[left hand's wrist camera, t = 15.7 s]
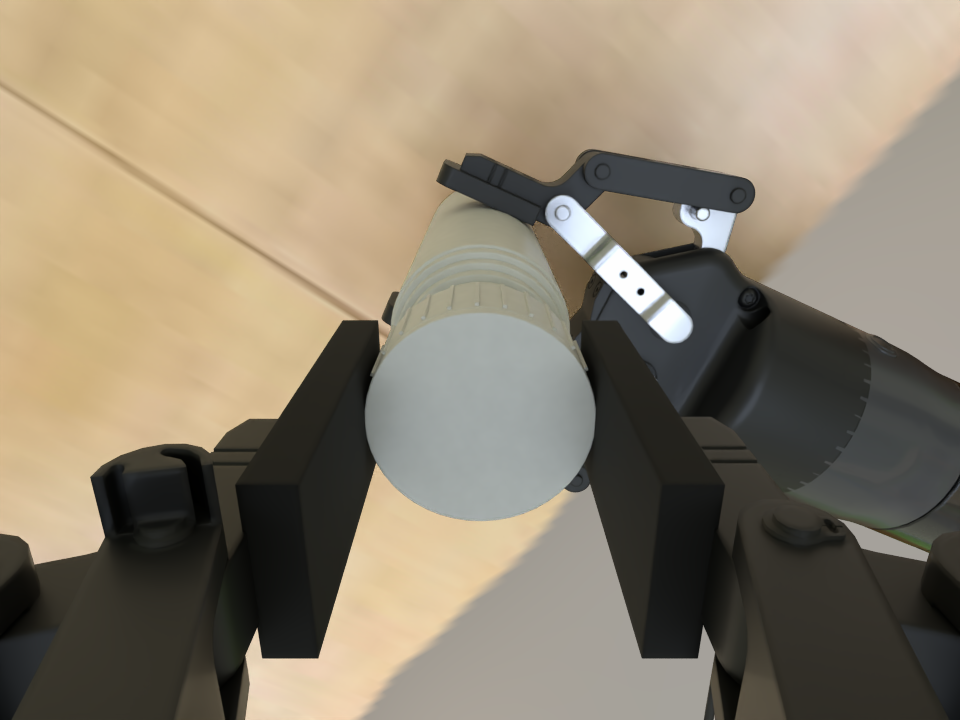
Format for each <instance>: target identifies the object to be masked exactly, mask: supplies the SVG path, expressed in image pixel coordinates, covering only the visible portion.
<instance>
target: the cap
mask: <svg viewBox="0 0 960 720" xmlns="http://www.w3.org/2000/svg"><path fill="white" fill-rule="evenodd" d="M586 371H588V368H587V365H586V363H585V360H584V358H583V356H582V353H581V351H580V349H579V346H578V344H577V341H576V340H575V341H573V340H572V337H571V335H570V332H569V330H568V328H567V325H566V323H565V321H564V320H563V321H562V322H561V321H560V320H559V319H558V317H557V316H556V315H555V314H554V313H553V312H552V311H551V310H550V307H549V305H548V304H545V305H544V304H542V303H541V302H539V301H537V300H536V299H534V298H533V297H531V296H529V294H528V292H526V291H524V293H522V292H520V291H517V290H514V289H511V288H508V287H505V284H500V286H498V285H492V284H479V282H475V284H470V285H462V286H457V287H455V286H454V285H451V286H450V288H449V289H446V290H443V291H440V292H438V293H436V294H434V295H431V294H428V295H427V297H426V299H425V300H423V301H422V302H420V303H419V304H417V305H416V306H414V307H413V308H412V309H411V308H410V307H409V308H408V309H407V311H406V314H405V316H404V317H403V318H402V319H401V320H400V322H399V323H398V324H397V325H396V326H395V325H393V326H392V328H391V330H390V333H389V335H388V338H387V340H386V343H385V345H382V348H381V350H380V352H379V355H378V357H377V360H376V362H375V364H374V367H373V369H372V372H371V374H370V376H371V377H373V378H372V380H371V383H370V386H369V389H368V393H367V396H366V403H365V428H366V436H367V440H368V443H369V447H370V450H371V452H372V454H373V457H374V459H375V461H376V463H377V465H378V466H379V468H380V469H381V471H382V472H383V474H384V475H385V476H386V478H387V479H388V480H389V481H390V482H391V483H392V485H393V486H394V487H395V488H397V489H398V490H399V491H400V492H401V493H402V494H403V495H404V496H406V497H407V498H409V499H410V500H412V501H413V502H414V503H416V504H418V505H420V506H422V507H424V508H425V509H427V510H430V511H432V512H435V513H437V514H440V515H444V516H447V517H451V518H455V519H462V520H469V521H490V520H499V519H505V518H510V517H514V516H517V515H520V514H524V513H526V512H528V511H531V510H533V509H535V508H537V507H539V506H541V505H542V504H544V503H546V502H548V501H549V500H551V499H552V498H553V497H555V496H556V495H557V494H559V493H560V492H561V491H562V490H563V489H564V488H565V487H566V486H567V485H568V484H569V483H570V482H571V481H572V480H573V478H574V477H575V476H576V475H577V473H578V472H579V470H580V469H581V467H582V465H583V464H584V462H585V460H586V458H587V456H588V454H589V451H590V449H591V446H592V442H593V439H594V430H595V416H596V405H595V399H594V393H593V390H592V387H591V384H590V381H589V378H588V376H587V373H586Z"/></svg>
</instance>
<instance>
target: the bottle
mask: <svg viewBox="0 0 960 720" xmlns="http://www.w3.org/2000/svg"><path fill="white" fill-rule="evenodd" d="M475 282H479V284H492V285H498V286H500V284H505V287H508V288H511V289H514V290H517V291H520V292H522V293H524V291H526V292H528V294H529V296H531V297H533V298H534V299H536V300H537V301H539V302H541V303H542V304H544V305H545V304H548V305H549V307H550V310H551V311H552V312H553V313H554V314H555V315H556V316H557V317H558V319H559V320H560V321H561V322H562V321H563V320H564V321H565V323H566V325H567V328H568V330H569V332H570V321H569V314H568V310H567V306H566V303H565V300H564V298H563V295H562V293H561V291H560V289H559V286H558V284H557V282H556V280H555V277H554V275H553V273H552V271H551V269H550V266H549V264H548V262H547V260H546V257H545V255H544V253H543V251H542V248H541V246H540V244H539V242H538V240H537V237H536V235H535V233H534V231H533V228H532V226H531V225H529V224H527V223H525V222H523V221H520V220H518V219H516V218H514V217H512V216H510V215H508V214H506V213H503V212H501V211H498V210H496V209H494V208H492V207H490V206H487V205H485V204H483V203H481V202H479V201H476V200H474V199H472V198H470V197H467V196H465V195H463V194H461V193H459V192H456V191H455V192H454V193H452V194H451V195H449V196H448V197H447V198H446V199H445V200H444V201H443V202H442V203H441V204H440V206H439V207H438V209H437V210H436V212H435V214H434V216H433V219H432V221H431V223H430V225H429V227H428V230H427V232H426V234H425V236H424V239H423V241H422V243H421V245H420V248H419V250H418V252H417V254H416V256H415V259H414V261H413V263H412V265H411V268H410V270H409V272H408V274H407V276H406V279H405V281H404V283H403V285H402V288H401V290H400V292H399V294H398V297H397V299H396V302H395V305H394V308H393V313H392V318H391V328H392V326H393V325H395V326H396V325H397V324H398V323H399V322H400V320H401V319H402V318H403V317H404V316H405V314H406V311H407V309H408V308H409V307H410V308H411V309H412V308H413V307H414V306H416V305H417V304H419V303H420V302H422V301H423V300H425V299H426V297H427V295H428V294H431V295H434V294H436V293H438V292H440V291H443V290H446V289H449V288H450V286H451V285H454V286H455V287H457V286H462V285H470V284H475Z"/></svg>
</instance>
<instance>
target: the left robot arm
mask: <svg viewBox="0 0 960 720" xmlns="http://www.w3.org/2000/svg"><path fill="white" fill-rule="evenodd" d="M580 351H581V353H582V356H583V358H584V360H585V363H586V365H587V368H588V371H586V373H587V376H588V378H589V381H590V384H591V387H592V390H593V393H594V399H595V405H596V416H595V430H594V439H593V442H592V446H591V449H590V451H589V454H588V456H587V458H586V460H585V462H584V464H585V468H586V471H587V474H588V478H589V481H590V485H591V488H592V491H593V495H594V498H595V501H596V505H597V508H598V512H599V515H600V518H601V522H602V525H603V528H604V532H605V535H606V539H607V542H608V545H609V549H610V552H611V555H612V559H613V562H614V566H615V569H616V572H617V576H618V579H619V582H620V586H621V589H622V593H623V596H624V599H625V603H626V606H627V610H628V613H629V616H630V620H631V623H632V626H633V630H634V633H635V637H636V640H637V643H638V647H639V650H640V653H641V657H642V658H698V654H699V648H700V641H701V635H702V629H703V625H704V628H705V630H706V632H707V635H708V637H709V639H710V641H711V644H712V646H713V648H714V651H715V657H714V662H713V669H712V674H711V680H710V686H709V692H708V698H707V704H706V710H705V716H704V720H713V719H714V714H715V720H960V531H956V532H949V533H943V534H941V535H940V536H939V537H938V538H936V539H935V540H934V541H933V543H932V546H931V549H930V553H929V556H928V559H927V562H924V561H919V560H914V559H909V558H904V557H899V556H893V555H888V554H883V553H878V552H873V551H869V550H865V549H861V547H860V545H859V544H858V542H857V539H856V538H855V536H854V535H853V534H852V532H851V531H850V530H849V529H848V528H847V526H846V525H845V524H844V523H842V522H841V521H839V520H838V519H836V518H835V517H833V516H832V515H830V514H829V513H827V512H825V511H822V510H820V509H817V508H815V507H812V506H810V505H807V504H804V503H799V502H794V501H790V500H789V499H788V498H787V497H786V495H785V494H784V493H783V492H782V490H781V489H780V488H779V486H778V485H777V484H776V483H775V481H774V480H773V479H772V478H771V476H770V475H769V474H768V473H767V471H766V470H765V469H764V468H763V466H762V465H761V464H760V463H757V459H756V458H755V456H754V455H753V454H752V453H751V451H750V450H747V446H746V445H745V444H744V443H743V441H742V440H741V439H740V438H739V436H738V435H737V434H736V433H735V431H734V430H732V429H731V428H729V427H727V426H726V425H724V424H722V423H721V422H719V421H717V420H716V419H714V418H712V417H680V415H679V414H678V412H677V411H676V409H675V408H674V406H673V405H672V403H671V402H670V400H669V398H668V397H667V395H666V394H665V392H664V391H663V389H662V388H661V386H660V385H659V383H658V382H657V380H656V379H655V377H654V376H653V374H652V373H651V371H650V370H649V368H648V367H647V365H646V364H645V362H644V360H643V359H642V357H641V356H640V354H639V353H638V351H637V350H636V348H635V347H634V345H633V344H632V342H631V341H630V339H629V338H628V336H627V335H626V333H625V332H624V330H623V329H622V327H621V325H620V324H619V322H618V321H617V320H582V330H581V347H580ZM379 352H380V344H379V327H378V320H343V321H342V323H341V324H340V326H339V327H338V329H337V330H336V332H335V333H334V335H333V336H332V338H331V339H330V341H329V342H328V344H327V345H326V347H325V349H324V350H323V352H322V353H321V355H320V356H319V358H318V359H317V361H316V362H315V364H314V365H313V367H312V368H311V370H310V371H309V373H308V374H307V376H306V377H305V379H304V380H303V382H302V384H301V385H300V387H299V388H298V390H297V391H296V393H295V394H294V396H293V397H292V399H291V400H290V402H289V403H288V405H287V406H286V408H285V409H284V411H283V412H282V414H281V415H280V417H279V418H278V419H248V420H247V421H245V422H244V423H242V424H240V425H239V426H237V427H235V428H234V429H232V430H230V431H229V432H227V433H226V434H225V435H224V437H223V438H222V439H221V440H220V442H219V443H218V444H217V446H216V447H215V448H214V452H211V453H209V452H207V451H206V450H205V449H203V448H202V447H198V446H193V445H189V444H163V445H157V446H152V447H146V448H141V449H138V450H135V451H132V452H129V453H127V454H124V455H121V456H119V457H117V458H115V459H113V460H111V461H110V462H108V463H106V464H104V465H102V466H101V467H100V468H99V469H98V470H97V471H96V472H95V473H94V474H93V475H92V476H91V477H90V478H91V482H92V486H93V490H94V494H95V498H96V502H97V506H98V510H99V514H100V518H101V522H102V526H103V530H104V534H105V539H104V541H103V543H102V545H101V546H100V548H99V550H98V552H95V553H91V554H87V555H82V556H77V557H72V558H67V559H62V560H56V561H51V562H46V563H41V564H36V565H34V562H33V558H32V555H31V552H30V549H29V545H28V544H27V543H26V542H25V541H24V540H22V539H21V538H20V537H18V536H12V535H5V534H0V720H245V716H246V708H247V700H248V692H249V685H250V683H249V675H248V668H247V662H246V657H245V655H246V652H247V650H248V648H249V645H250V643H251V641H252V638H253V636H254V634H255V631H256V629H257V628H258V634H259V640H260V647H261V653H262V658H318V657H319V654H320V651H321V647H322V644H323V640H324V637H325V634H326V630H327V627H328V624H329V620H330V617H331V613H332V610H333V607H334V603H335V600H336V596H337V593H338V590H339V586H340V583H341V580H342V576H343V573H344V569H345V566H346V563H347V559H348V556H349V553H350V549H351V546H352V542H353V539H354V536H355V532H356V529H357V526H358V522H359V519H360V515H361V512H362V509H363V505H364V502H365V499H366V495H367V492H368V488H369V485H370V482H371V478H372V475H373V472H374V468H375V465H376V461H375V459H374V457H373V454H372V452H371V450H370V447H369V443H368V440H367V436H366V428H365V403H366V396H367V393H368V389H369V386H370V383H371V380H372V378H373V377H371V376H370V374H371V372H372V369H373V367H374V364H375V362H376V360H377V357H378V355H379Z"/></svg>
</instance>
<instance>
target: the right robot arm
mask: <svg viewBox="0 0 960 720" xmlns="http://www.w3.org/2000/svg"><path fill="white" fill-rule="evenodd" d="M436 181H437V182H438V183H440V184H442V185H444V186H446V187H448V188H450V189H452V190H454V191H456V192H459V193H461V194H463V195H465V196H467V197H470V198H472V199H474V200H476V201H479V202H481V203H483V204H485V205H487V206H490V207H492V208H494V209H496V210H498V211H501V212H503V213H506V214H508V215H510V216H512V217H514V218H516V219H518V220H520V221H523V222H525V223H527V224H529V225H532V226H533V225H534V223H535V221H538V222H541V223H543V224H545V225H547V226H549V227H552V228H553V229H554V230H555V231H556V232H557V233H558V234H559V235H560V236H561V237H562V238H563V239H564V240H565V241H566V242H567V243H568V244H569V245H570V246H571V247H572V248H573V249H574V250H575V251H576V252H577V253H578V254H579V255H580V256H581V257H582V258H583V259H584V260H585V261H586V262H587V263H588V264H589V265H590V266H591V267H592V268H593V269H594V270H595V271H594V273H593V275H592V277H591V279H590V281H589V283H588V285H587V286H586V290H585V295H584V299H583V304H582V307H581V308H580V309H579V310H578V312H577V313H576V314H575V315H574V316H573V317H572V318H571V319H570V335H571V337H572V340H573V341H575V340H576V341H577V344H578V346H579V349H580V347H581V330H582V320H617V321H618V322H619V324H620V325H621V327H622V329H623V330H624V332H625V333H626V335H627V336H628V338H629V339H630V341H631V342H632V344H633V345H634V347H635V348H636V350H637V351H638V353H639V354H640V356H641V357H642V359H643V360H644V362H645V364H646V365H647V367H648V368H649V370H650V371H651V373H652V374H653V376H654V377H655V379H656V380H657V382H658V383H659V385H660V386H661V388H662V389H663V391H664V392H665V394H666V395H667V397H668V398H669V400H670V402H671V403H672V405H673V406H674V408H675V409H676V411H677V412H678V414H679V415H680V417H712V418H714V419H716V420H717V421H719V422H721V423H722V424H724V425H726V426H727V427H729V428H731V429H732V430H734V431H735V433H736V434H737V435H738V436H739V438H740V439H741V440H742V441H743V443H744V444H745V445H746V446H747V450H750V451H751V453H752V454H753V455H754V456H755V458H756V459H757V463H760V464H761V465H762V466H763V468H764V469H765V470H766V471H767V473H768V474H769V475H770V476H771V478H772V479H773V480H774V481H775V483H776V484H777V485H778V486H779V488H780V489H781V490H782V492H783V493H784V494H785V495H786V497H787V498H788V499H789V500H790V501H794V502H799V503H804V504H807V505H810V506H812V507H815V508H817V509H820V510H822V511H825V512H827V513H829V514H830V515H832V516H833V517H835V518H837V519H841V520H846V521H850V522H853V523H856V524H859V525H862V526H865V527H867V528H869V529H872V530H874V531H877V532H879V533H882V534H884V535H887V536H889V537H891V538H894V539H896V540H899V541H901V542H903V543H906V544H908V545H911V546H914V547H916V548H919V549H921V550H923V551H926V552H928V553H930V549H931V546H932V543H933V541H934V540H935V539H936V538H938V537H939V536H940V535H941V534H943V533H949V532H956V531H960V383H959V382H957V381H954V380H952V379H950V378H948V377H946V376H943V375H941V374H939V373H937V372H936V371H934V370H933V369H931V368H930V367H928V366H927V365H925V364H924V363H922V362H921V361H919V360H918V359H917V358H915V357H913V356H912V355H910V354H909V353H907V352H905V351H903V350H901V349H899V348H897V347H895V346H893V345H892V344H890V343H888V342H886V341H885V340H884V339H882V338H880V337H878V336H876V335H872V334H868V333H866V332H864V331H862V330H859V329H857V328H855V327H853V326H851V325H849V324H846V323H844V322H842V321H840V320H838V319H836V318H833V317H831V316H829V315H827V314H825V313H823V312H820V311H818V310H816V309H814V308H812V307H810V306H808V305H805V304H803V303H801V302H799V301H797V300H795V299H793V298H790V297H788V296H786V295H784V294H782V293H780V292H778V291H775V290H773V289H771V288H769V287H767V286H765V285H762V284H760V283H758V282H756V281H754V280H752V279H750V278H747V277H746V276H744V275H742V273H741V272H740V271H739V270H738V269H737V267H736V266H735V264H734V262H733V260H732V259H731V258H730V257H729V256H728V255H727V254H726V253H725V251H726V248H727V245H728V242H729V238H730V235H731V232H732V229H733V225H734V222H735V219H736V216H737V213H740V212H743V211H745V210H746V209H748V208H749V207H750V206H751V204H752V203H753V201H754V198H755V188H754V186H753V184H752V183H751V182H750V181H749V180H748V179H746V178H742V177H738V176H734V175H730V174H726V173H722V172H718V171H712V170H707V169H701V168H695V167H690V166H684V165H679V164H673V163H668V162H662V161H656V160H651V159H645V158H640V157H634V156H629V155H623V154H617V153H612V152H606V151H601V150H595V149H589V150H586V151H584V152H582V153H581V154H580V155H579V156H578V158H577V160H576V162H575V164H574V165H573V166H572V167H571V168H570V169H569V170H568V171H567V172H566V173H565V174H564V175H563V176H562V177H561V178H560V179H558V180H556V181H554V182H541V181H539V180H536V179H534V178H532V177H530V176H528V175H526V174H524V173H521V172H519V171H517V170H515V169H513V168H511V167H509V166H506V165H504V164H502V163H500V162H498V161H495V160H493V159H491V158H489V157H487V156H485V155H483V154H474V153H466V155H465V158H464V160H463V162H462V165H459V164H457V163H455V162H452V161H450V160H445V161H444V163H443V165H442V168H441V170H440V173H439V175H438V178H437V180H436ZM604 191H609V192H615V193H620V194H626V195H632V196H637V197H643V198H649V199H654V200H660V201H666V202H672V203H674V204H673V214H674V216H675V218H676V219H677V220H678V221H679V222H681V223H683V224H684V225H686V226H688V227H691V229H692V230H693V232H694V236H695V240H694V243H691V244H687V245H682V246H677V247H672V248H667V249H663V250H658V251H653V252H648V253H643V254H638V255H634V256H630V255H629V254H628V253H627V252H626V251H625V250H624V249H623V248H622V247H621V246H620V245H619V244H618V243H617V242H616V241H615V240H614V239H613V238H612V237H611V236H610V235H609V234H608V233H607V232H606V231H605V230H604V229H603V228H602V227H601V226H600V225H599V224H598V223H597V222H596V221H595V220H594V219H593V218H592V217H591V216H590V215H589V214H588V213H587V212H586V211H585V210H586V209H587V208H588V207H589V206H590V205H591V204H592V203H593V202H594V201H595V200H596V199H597V198H598V197H599V196H600V195H601V194H602V193H603V192H604ZM398 294H399V292H392V294H391V296H390V298H389V300H388V303H387V305H386V308H385V310H384V313H383V315H382V320H383V321H384V322H386V323H387V324H389V325H391V318H392V313H393V308H394V305H395V302H396V299H397V297H398ZM589 484H590V481H589V478H588V474H587V471H586V468H585V464H583V465H582V467H581V469H580V470H579V472H578V473H577V475H576V476H575V477H574V478H573V480H572V481H571V482H570V483H569V484H568V485H567V486H566V487H565V489H566V490H568V491H570V492H580V491H583V490H585V489H586V488H587V487H588V486H589Z"/></svg>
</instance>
